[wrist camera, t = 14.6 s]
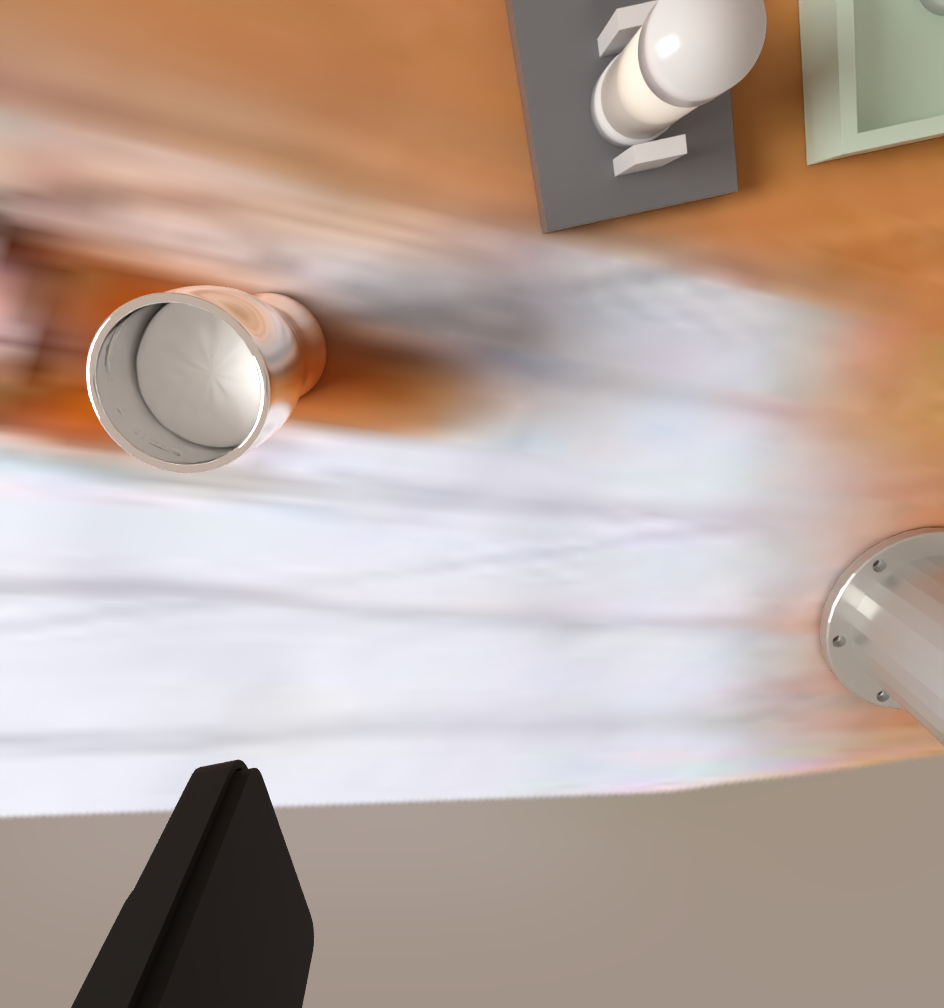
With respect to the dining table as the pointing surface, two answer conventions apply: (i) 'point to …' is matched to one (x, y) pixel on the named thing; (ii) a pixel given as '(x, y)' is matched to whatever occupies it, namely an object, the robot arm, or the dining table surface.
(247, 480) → the dining table surface
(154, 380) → the beer glass
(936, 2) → the cylinder
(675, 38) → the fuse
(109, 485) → the dining table surface
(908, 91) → the tray
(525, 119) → the fuse holder
